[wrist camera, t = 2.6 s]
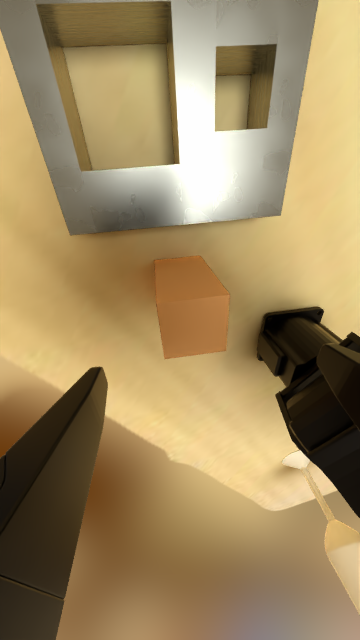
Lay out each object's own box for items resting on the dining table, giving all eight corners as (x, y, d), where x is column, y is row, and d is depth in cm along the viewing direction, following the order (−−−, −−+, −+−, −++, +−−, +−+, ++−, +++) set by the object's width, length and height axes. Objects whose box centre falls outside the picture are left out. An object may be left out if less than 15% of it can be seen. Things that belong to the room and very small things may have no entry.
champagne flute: (292, 449, 40) (433, 707, 20) (320, 449, 42) (476, 689, 22) (276, 466, 44) (383, 701, 24) (302, 465, 45) (424, 686, 25)
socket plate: (296, -65, 10) (344, -151, 7) (260, 211, 16) (280, 215, 14) (-5, -64, 9) (-64, -161, 7) (83, 228, 16) (70, 235, 13)
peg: (200, 255, 18) (230, 294, 11) (200, 296, 20) (226, 350, 13) (154, 260, 18) (156, 303, 11) (159, 301, 20) (164, 359, 13)
